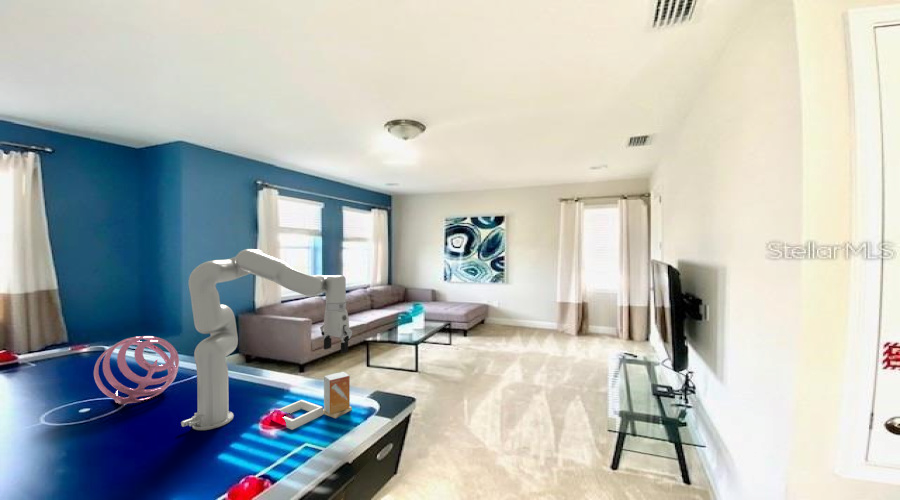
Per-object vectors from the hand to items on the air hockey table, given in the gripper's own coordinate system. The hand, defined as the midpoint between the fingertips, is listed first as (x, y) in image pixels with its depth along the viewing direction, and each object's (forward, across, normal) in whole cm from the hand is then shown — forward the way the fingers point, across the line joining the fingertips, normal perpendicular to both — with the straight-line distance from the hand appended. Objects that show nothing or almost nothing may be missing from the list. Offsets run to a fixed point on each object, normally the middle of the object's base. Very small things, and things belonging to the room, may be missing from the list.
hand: (335, 350), depth 136 cm
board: (+24, 0, 0) cm, 24 cm away
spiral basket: (+25, +83, +35) cm, 93 cm away
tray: (+24, +9, +11) cm, 28 cm away
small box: (+23, 0, 0) cm, 23 cm away
